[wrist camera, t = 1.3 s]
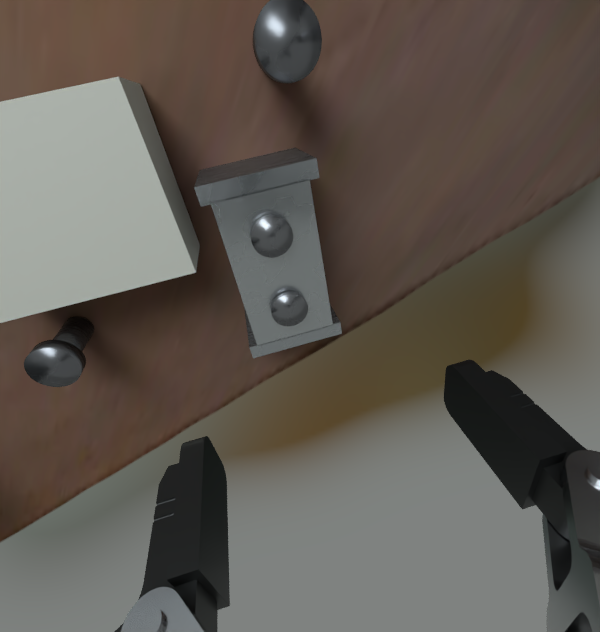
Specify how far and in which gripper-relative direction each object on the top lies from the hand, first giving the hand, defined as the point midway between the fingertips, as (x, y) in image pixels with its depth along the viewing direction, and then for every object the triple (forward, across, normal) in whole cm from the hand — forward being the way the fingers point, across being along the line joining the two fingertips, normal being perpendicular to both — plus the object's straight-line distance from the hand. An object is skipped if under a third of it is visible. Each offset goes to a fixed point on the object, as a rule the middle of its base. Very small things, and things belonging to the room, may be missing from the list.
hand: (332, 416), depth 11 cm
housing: (+18, 0, 0) cm, 18 cm away
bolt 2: (+18, -3, -11) cm, 21 cm away
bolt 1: (+18, +16, +3) cm, 24 cm away
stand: (+18, +11, -6) cm, 22 cm away
